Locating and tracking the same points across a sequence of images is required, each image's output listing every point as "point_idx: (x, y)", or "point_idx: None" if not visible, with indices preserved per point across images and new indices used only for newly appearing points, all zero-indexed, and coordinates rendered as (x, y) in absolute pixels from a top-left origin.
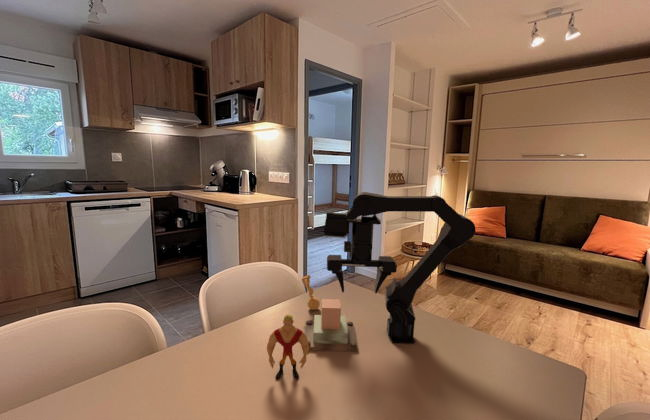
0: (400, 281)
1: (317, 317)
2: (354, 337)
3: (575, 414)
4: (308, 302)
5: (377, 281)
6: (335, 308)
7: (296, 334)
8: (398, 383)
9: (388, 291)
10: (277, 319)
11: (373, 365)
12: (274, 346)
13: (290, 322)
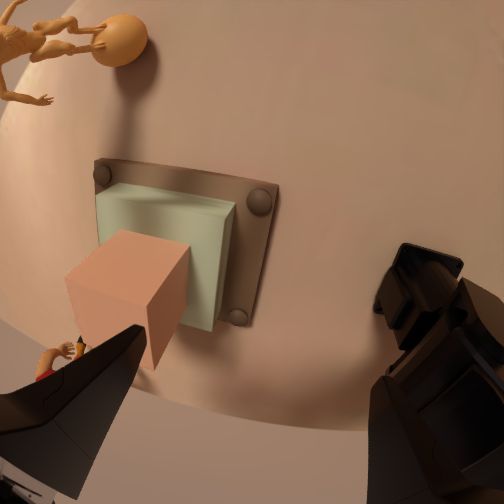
0: (500, 447)
1: (106, 216)
2: (253, 283)
3: None
4: (91, 52)
5: (379, 479)
6: None
7: None
8: (302, 397)
9: (427, 424)
10: (37, 130)
11: (274, 362)
12: (53, 359)
13: None
